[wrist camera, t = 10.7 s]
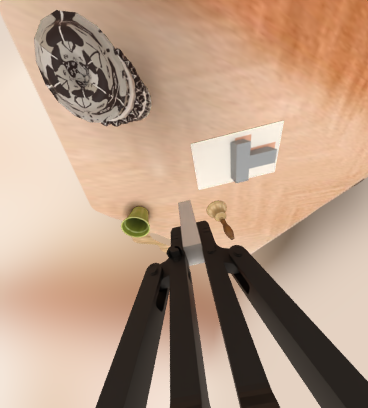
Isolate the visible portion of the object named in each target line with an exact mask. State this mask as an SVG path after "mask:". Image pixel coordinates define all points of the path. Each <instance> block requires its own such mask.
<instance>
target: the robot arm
mask: <svg viewBox="0 0 368 408" xmlns="http://www.w3.org/2000/svg"><path fill="white" fill-rule="evenodd" d="M178 206H179V215H180V224H181V226H180V227H176V228H172V231H171V247H169V249H168V250H167V255H168V257H169V258H168V260H166V261H165V262H163V263H161V264H159V263H153V264H151V265H150V266H149V267H148V268H147V270H146V272H145V275H144V278H143V280H142V283H141V286H140V289H139V291H138V294H137V297H136V300H135V302H134V305H133V307H132V310H131V313H130V316H129V318H128V321H127V324H126V326H125V329H124V332H123V335H122V337H121V340H120V343H119V346H118V348H117V351H116V354H115V356H114V359H113V362H112V365H111V367H110V370H109V373H108V375H107V378H106V381H105V383H104V386H103V389H102V391H101V394H100V397H99V400H98V402H97V405H96V408H146V404H147V399H148V394H149V389H150V384H151V380H152V374H153V369H154V365H155V359H156V355H157V349H158V344H159V339H160V335H161V330H162V325H163V320H164V315H165V310H166V305H167V300H168V295H169V290H170V408H211V407H210V403H209V398H208V391H207V384H206V377H205V370H204V364H203V356H202V349H201V342H200V335H199V328H198V321H197V314H196V308H195V300H194V293H193V286H192V279H191V272H190V269H189V266H190V265H195V264H200V263H204V262H205V264H206V268H207V273H208V277H209V281H210V285H211V289H212V293H213V297H214V301H215V305H216V310H217V313H218V318H219V322H220V326H221V330H222V334H223V338H224V343H225V347H226V351H227V354H228V359H229V363H230V367H231V371H232V375H233V379H234V383H235V388H236V391H237V396H238V400H239V404H240V408H280V406H279V404H278V402H277V400H276V398H275V396H274V394H273V392H272V390H271V388H270V385H269V382H268V380H267V377H266V374H265V372H264V369H263V366H262V364H261V361H260V358H259V356H258V353H257V350H256V348H255V345H254V343H253V340H252V337H251V334H250V332H249V329H248V327H247V324H246V321H245V318H244V315H243V313H242V310H241V307H240V305H239V302H238V300H237V297H236V294H235V291H234V289H233V286H232V283H231V281H230V278H229V276H228V273H231V274H232V276H233V277H234V278H235V280H236V282H237V283H238V285H239V286H240V287H241V289H242V291H243V292H244V293H245V295H246V296H247V298H248V299H249V301H250V302H251V304H252V305H253V307H254V308H255V310H256V311H257V313H258V314H259V316H260V317H261V319H262V320H263V322H264V323H265V324H266V326H267V328H268V329H269V331H270V332H271V334H272V335H273V337H274V338H275V340H276V341H277V343H278V344H279V346H280V347H281V349H282V350H283V352H284V353H285V354H286V356H287V357H288V359H289V360H290V362H291V363H292V365H293V366H294V368H295V369H296V371H297V372H298V374H299V375H300V377H301V378H302V380H303V381H304V383H305V384H306V385H307V387H308V389H309V390H310V391H311V393H312V394H313V396H314V398H315V399H316V401H317V402H318V404H319V405H320V406H321V408H368V381H367V380H366V379H365V378H364V377H363V376H362V375H361V374H360V373H359V372H358V371H357V369H356V368H355V367H354V366H353V365H352V364H351V363H350V362H349V361H348V360H347V359H346V357H345V356H344V355H343V354H342V353H341V352H340V351H339V350H338V349H337V348H336V347H335V346H334V344H332V342H331V341H330V340H329V339H328V338H327V337H326V336H325V335H324V334H323V333H322V331H321V330H320V329H319V328H318V327H317V326H316V325H315V324H314V323H313V322H312V321H311V320H310V318H309V317H308V316H307V315H306V314H305V313H304V312H303V311H302V310H301V309H300V308H299V307H298V306H297V304H296V303H294V301H293V300H292V299H291V298H290V297H289V296H288V295H287V294H286V293H285V291H284V290H283V289H282V288H281V287H280V286H279V285H278V284H277V283H276V282H275V281H274V280H273V278H272V277H271V276H270V275H269V274H268V273H267V272H266V271H265V270H264V269H263V268H262V267H261V265H260V264H259V263H258V262H257V261H256V260H255V259H254V258H253V257H252V256H251V255H250V253H249V252H248V251H247V250H246V249H245V248H244V247H242V246H239V245H234V246H232V247H230V249H228V248H221V247H219V246H218V245H217V244H216V243H215V240H214V238H213V235H212V232H211V230H210V227H209V224H208V223H207V222H206V221H201V222H196V221H195V217H194V213H193V209H192V205H191V201H190V200H188V201H184V202H180V203H178Z"/></svg>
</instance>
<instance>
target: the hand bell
mask: <svg viewBox="0 0 368 408" xmlns="http://www.w3.org/2000/svg"><path fill="white" fill-rule="evenodd" d="M226 208H227V207H226V204H225V203H224V202H222V201H215V202H212V203H211V204H210V205H209V206H208V208H207V214H208V215H209V216H210V217H213V218H215V220H216V221H219V222H221V223H222V225H223V229H224V232H225V234H226V235H227V236H228V237H229V238H230V239H231V240H233V239H234V233H233V230H232V229H231V227H230V226H229V225H228V224H227V223H226V221H225V218H226V213H225V212H226Z"/></svg>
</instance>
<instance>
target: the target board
mask: <svg viewBox="0 0 368 408" xmlns="http://www.w3.org/2000/svg"><path fill="white" fill-rule="evenodd" d="M283 124H284V120H283V121H279V122H275V123H271V124H268V125H264V126H260V127H256V128H252V129H248V130H244V131H240V132H236V133H232V134H228V135H224V136H220V137H216V138H212V139H208V140H204V141H200V142H196V143H192V144H191V150H192V156H193V161H194V167H195V173H196V179H197V184H198V190H201V189H205V188H209V187H213V186H217V185H222V184H226V183H230V182H234V181H233V180H232V179H231V146H230V142H233V141H237V140H241V139H245V140H249V141H251V149H250V150H255V149H259V148H263V147H267V146H268V147H272V148H275V149H277V154H276V159H275V163H271V164H267V165H263V166H259V167H254V168H250V169H249V177H248V178H251V177H255V176H260V175H264V174H268V173H272V172H275V167H276V162H277V156H278V151H279V145H280V140H281V134H282V129H283Z"/></svg>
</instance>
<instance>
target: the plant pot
mask: <svg viewBox="0 0 368 408" xmlns="http://www.w3.org/2000/svg"><path fill="white" fill-rule="evenodd" d="M121 228H122V231H123V232H124V233H125V234H127V235H129V236H131V237H136V238H138V237H143V236H145V235H147V234H148V233H149V231H150V225H149V223H148V211H147V209H146V208H143V207H140V206H139V207H135V208H134V209H133V210H132V212H131V213H130V215H129V216H128V217H127V218H126V219H125V220H123V222H122V224H121Z"/></svg>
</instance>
